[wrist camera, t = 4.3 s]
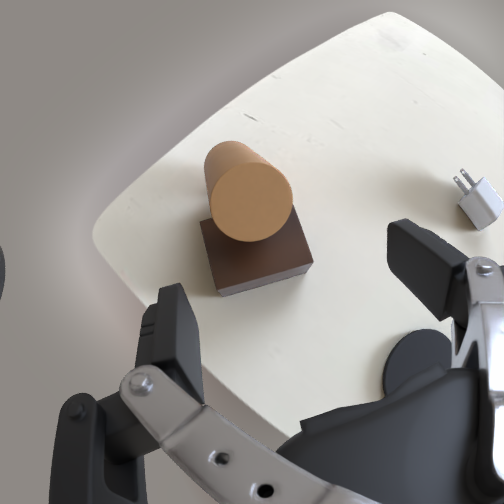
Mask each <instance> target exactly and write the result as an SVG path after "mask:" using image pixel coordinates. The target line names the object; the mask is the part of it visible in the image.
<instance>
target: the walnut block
mask: <svg viewBox="0 0 504 504" xmlns="http://www.w3.org/2000/svg"><path fill="white" fill-rule="evenodd" d="M200 226H201V230H202V234H203V238H204V242H205V246H206V250H207V254H208V258H209V262H210V266H211V270H212V274H213V278H214V282H215V285H216V289H217V291H218V292H219V293H220V294H221V295H222V296H223V297H225V296H228V295H232V294H235V293H239V292H242V291H246V290H249V289H253V288H256V287H260V286H263V285H267V284H270V283H274V282H277V281H280V280H284V279H287V278H291V277H294V276H297V275H300V274H304V273H306V272H307V271H308V269H309V268H310V267H311V265H312V264H313V262H314V261H313V258H312V255H311V252H310V250H309V247H308V244H307V241H306V238H305V235H304V233H303V230H302V227H301V224H300V222H299V219H298V216H297V213H296V211H295V208H294V205H293V203H292V209H291V212H290V215H289V217H288V219H287V221H286V222H285V224H284V225H283V226H282V227H281V228H280V229H279V230H278V231H277V232H276V233H274V234H273V235H271V236H269V237H267V238H265V239H262V240H258V241H251V242H248V241H240V240H236V239H233V238H231V237H229V236H227V235H226V234H224V233H223V232H222V231H221V230H220V229H219V228H218V227H217V225H216V224H215V222H214V220H213V218H211V219H207V220H204V221H201V222H200Z"/></svg>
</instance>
